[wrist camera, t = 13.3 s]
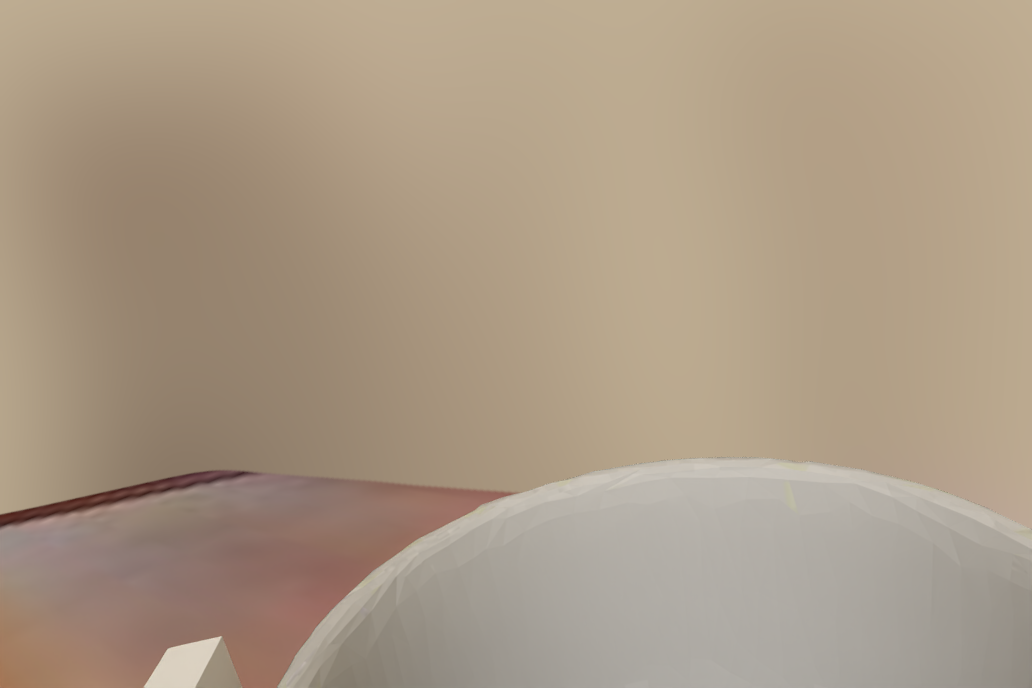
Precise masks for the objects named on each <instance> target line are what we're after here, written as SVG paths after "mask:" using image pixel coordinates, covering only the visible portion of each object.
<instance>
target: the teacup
mask: <svg viewBox="0 0 1032 688" xmlns="http://www.w3.org/2000/svg"><path fill="white" fill-rule="evenodd" d="M277 688H1032V529H1030V528H1028V527H1026V526H1024V525H1021V524H1019V523H1017V522H1015V521H1013V520H1011V519H1009V518H1006V517H1004V516H1002V515H1000V514H998V513H996V512H994V511H992V510H990V509H988V508H986V507H984V506H981V505H979V504H976V503H973V502H971V501H968V500H966V499H963V498H960V497H958V496H955V495H953V494H950V493H948V492H945V491H941V490H938V489H935V488H932V487H928V486H925V485H921V484H919V483H915V482H912V481H908V480H904V479H900V478H895V477H891V476H887V475H883V474H879V473H875V472H870V471H866V470H862V469H856V468H849V467H843V466H836V465H829V464H824V463H817V462H811V461H810V462H795V461H790V460H782V459H770V458H758V457H752V458H751V457H749V458H747V457H744V458H743V457H742V458H741V457H740V458H739V457H717V458H689V459H677V460H664V461H658V462H648V463H640V464H634V465H627V466H622V467H617V468H610V469H605V470H599V471H594V472H590V473H587V474H583V475H580V476H577V477H573V478H570V479H566V480H562V481H558V482H554V483H549V484H546V485H543V486H541V487H538V488H535V489H532V490H529V491H527V492H523V493H518V494H514V495H510V496H506V497H503V498H500V499H497V500H494V501H491V502H489V503H486V504H483V505H480V506H479V507H478V508H477V509H476V510H474V511H472V512H470V513H468V514H466V515H464V516H462V517H461V518H459V519H457V520H455V521H453V522H451V523H449V524H447V525H445V526H443V527H441V528H439V529H437V530H435V531H433V532H431V533H429V534H427V535H425V536H423V537H421V538H419V539H417V540H415V541H414V542H413V543H411V544H410V545H409V546H407V547H406V548H405V549H403V550H402V551H401V552H399V553H398V554H397V555H395V556H394V557H392V558H391V559H389V560H388V561H387V562H385V563H384V564H382V565H381V566H379V567H378V568H376V569H375V570H373V571H372V572H371V573H370V574H369V575H368V576H367V577H366V578H365V579H364V580H363V581H362V582H360V583H359V584H358V585H357V586H356V587H355V588H354V589H353V590H352V591H351V592H350V593H349V594H348V595H347V596H346V597H345V598H344V599H342V600H341V601H340V602H339V603H338V604H337V605H336V606H335V607H334V608H333V609H332V610H331V611H330V612H329V613H328V615H327V616H326V617H325V618H324V619H323V620H322V621H321V622H320V624H319V625H318V626H317V627H316V628H315V630H314V631H313V633H312V634H311V636H310V637H309V638H308V640H307V641H306V642H305V644H304V645H303V646H302V647H301V649H300V650H299V651H298V653H297V654H296V656H295V657H294V659H293V661H292V663H291V665H290V666H289V668H288V670H287V672H286V673H285V675H284V676H283V678H282V680H281V681H280V683H279V685H278V686H277Z"/></svg>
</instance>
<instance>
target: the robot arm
mask: <svg viewBox="0 0 1032 688" xmlns="http://www.w3.org/2000/svg"><path fill="white" fill-rule="evenodd" d="M144 688H243V687H242V685H241V682H240V680H239V677H238V675H237V672H236V670H235V667H234V665H233V662H232V660H231V657H230V655H229V652H228V650H227V647H226V645H225V642H224V640H223V637H222V636H220V637H216V638H211V639H207V640H202V641H198V642H193V643H189V644H185V645H180V646H176V647H171V648H168V649H167V651H166V652H165V654H164V656H163V657H162V659H161V660H160V662H159V664H158V665H157V667H156V668H155V670H154V672H153V673H152V675H151V677H150V678H149V680H148V681H147V683H146V685H145V686H144Z"/></svg>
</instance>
